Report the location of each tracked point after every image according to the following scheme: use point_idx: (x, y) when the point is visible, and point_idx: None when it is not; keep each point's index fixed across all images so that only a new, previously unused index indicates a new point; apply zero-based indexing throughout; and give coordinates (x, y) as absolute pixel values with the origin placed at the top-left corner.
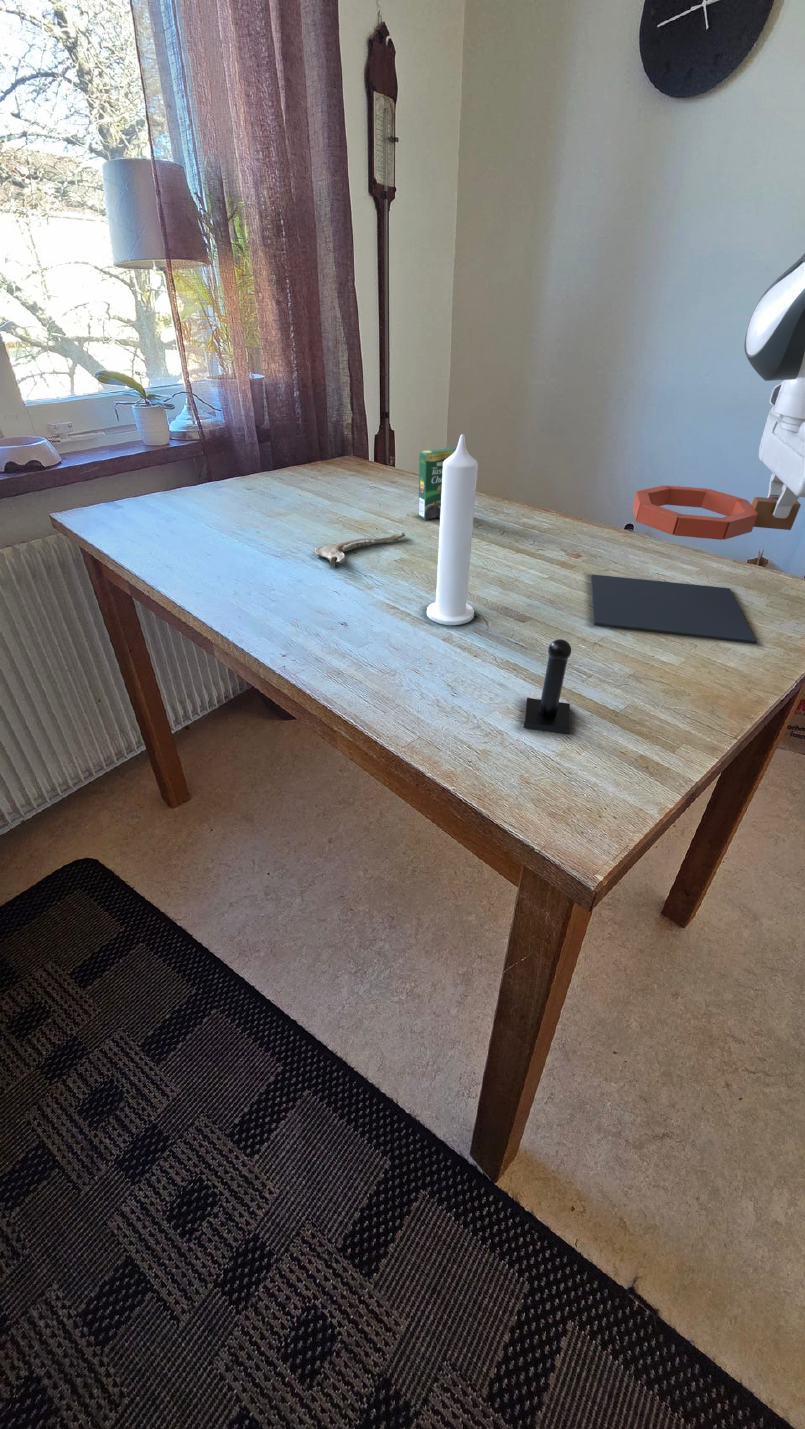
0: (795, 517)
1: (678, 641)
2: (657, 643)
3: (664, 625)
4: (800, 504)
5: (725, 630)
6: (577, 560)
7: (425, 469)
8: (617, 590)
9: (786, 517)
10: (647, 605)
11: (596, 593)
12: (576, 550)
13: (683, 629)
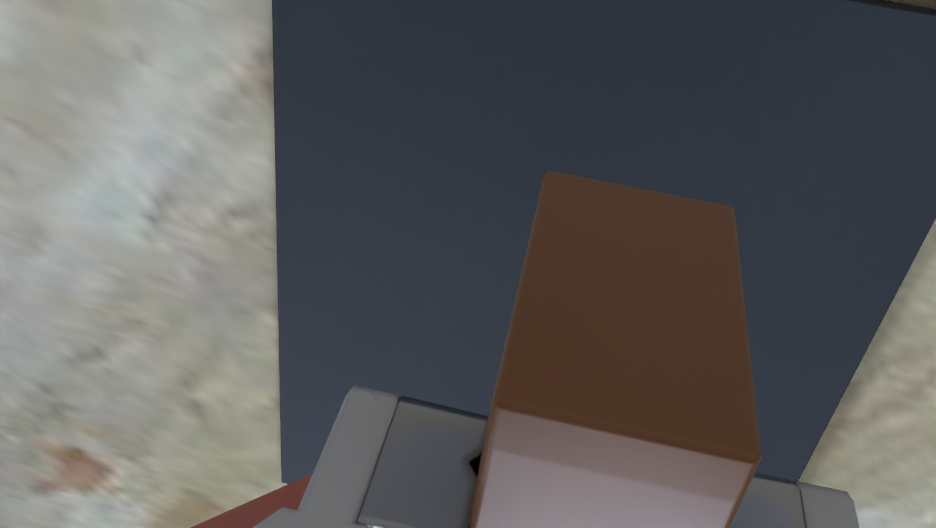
0: (740, 312)
1: (923, 370)
2: (926, 446)
3: (785, 392)
4: (750, 462)
5: (872, 152)
6: (128, 471)
7: None
8: None
9: (839, 490)
10: None
11: None
12: (17, 448)
13: (834, 335)
